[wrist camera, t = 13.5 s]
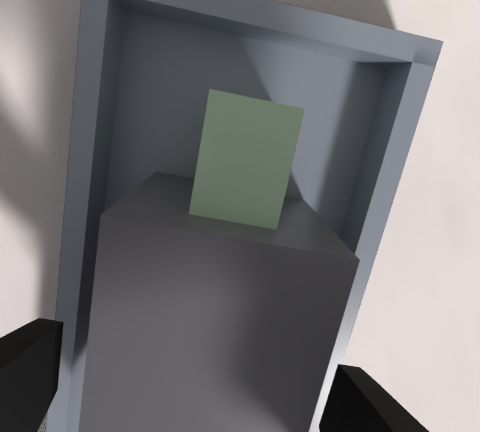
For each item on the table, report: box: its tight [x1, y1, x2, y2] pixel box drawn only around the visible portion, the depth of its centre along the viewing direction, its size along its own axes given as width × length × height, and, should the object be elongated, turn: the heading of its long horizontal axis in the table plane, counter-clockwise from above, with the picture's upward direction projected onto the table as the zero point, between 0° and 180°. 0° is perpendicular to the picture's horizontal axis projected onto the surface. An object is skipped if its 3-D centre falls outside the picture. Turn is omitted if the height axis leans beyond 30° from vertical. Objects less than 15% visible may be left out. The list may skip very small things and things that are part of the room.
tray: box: [46, 0, 443, 432], centre depth 12 cm, size 9×18×2 cm, turn 168°
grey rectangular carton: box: [78, 89, 360, 432], centre depth 10 cm, size 10×5×5 cm, turn 169°
